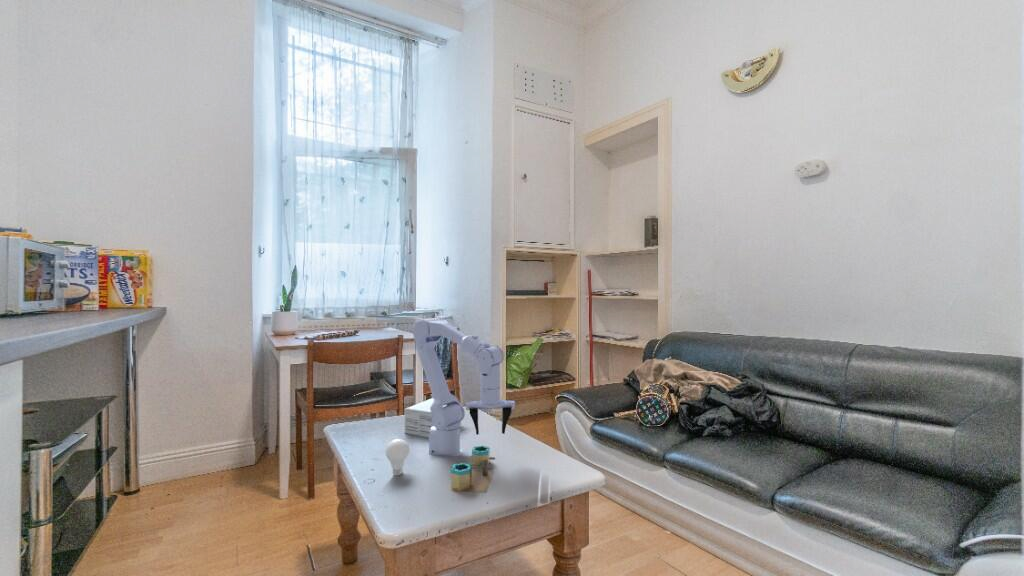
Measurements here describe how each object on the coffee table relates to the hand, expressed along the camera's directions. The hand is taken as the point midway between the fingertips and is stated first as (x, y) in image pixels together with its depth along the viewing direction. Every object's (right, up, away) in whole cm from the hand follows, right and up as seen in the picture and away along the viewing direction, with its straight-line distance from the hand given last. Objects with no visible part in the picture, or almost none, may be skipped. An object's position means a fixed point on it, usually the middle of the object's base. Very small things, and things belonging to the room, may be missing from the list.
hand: (490, 433), depth 130 cm
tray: (-3, -10, -1) cm, 10 cm away
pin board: (-4, -10, -13) cm, 17 cm away
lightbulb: (-25, -10, -8) cm, 29 cm away
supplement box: (-23, -10, +34) cm, 42 cm away
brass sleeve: (-3, -9, -1) cm, 10 cm away
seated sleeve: (-7, -9, -16) cm, 19 cm away
